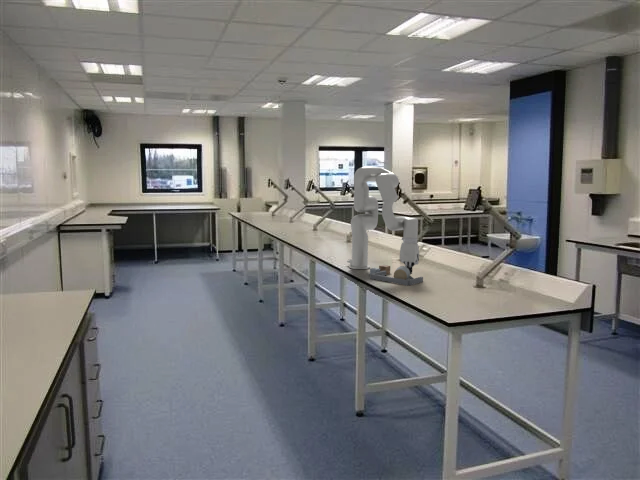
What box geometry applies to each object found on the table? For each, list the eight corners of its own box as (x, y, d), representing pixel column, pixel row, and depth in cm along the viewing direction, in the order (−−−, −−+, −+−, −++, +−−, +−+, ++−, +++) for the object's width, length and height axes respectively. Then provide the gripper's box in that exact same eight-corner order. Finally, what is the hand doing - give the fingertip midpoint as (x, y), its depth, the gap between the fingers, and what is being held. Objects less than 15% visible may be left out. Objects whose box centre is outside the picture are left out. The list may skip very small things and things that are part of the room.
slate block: (369, 275, 282) (370, 268, 281) (374, 274, 285) (374, 267, 284) (375, 276, 279) (375, 269, 279) (380, 275, 282) (380, 268, 281)
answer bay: (369, 278, 274) (369, 273, 273) (384, 275, 284) (384, 270, 283) (408, 285, 257) (408, 280, 257) (422, 281, 267) (423, 277, 267)
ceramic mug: (392, 282, 265) (393, 267, 264) (395, 279, 272) (396, 265, 271) (413, 284, 261) (413, 269, 260) (415, 281, 269) (416, 267, 268)
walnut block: (378, 273, 288) (379, 265, 288) (383, 272, 292) (383, 264, 291) (385, 274, 285) (385, 266, 285) (390, 273, 289) (390, 265, 288)
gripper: (394, 239, 280) (393, 273, 282) (418, 242, 269) (417, 277, 272) (402, 238, 285) (401, 271, 287) (426, 241, 275) (424, 275, 277)
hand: (409, 274), depth 280 cm, fingers closed
